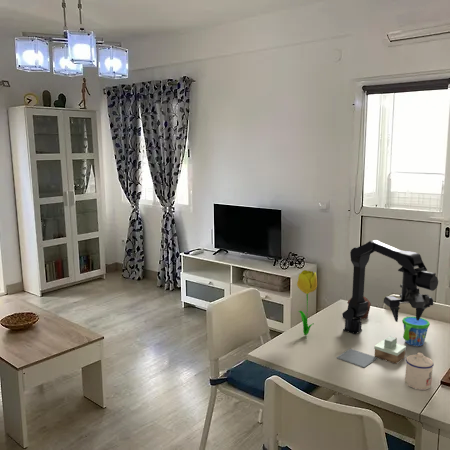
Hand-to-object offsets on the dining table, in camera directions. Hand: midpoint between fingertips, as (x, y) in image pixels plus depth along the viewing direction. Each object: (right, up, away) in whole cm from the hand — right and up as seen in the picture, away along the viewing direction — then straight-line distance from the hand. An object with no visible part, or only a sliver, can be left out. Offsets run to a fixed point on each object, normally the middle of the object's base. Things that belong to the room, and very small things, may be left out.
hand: (406, 320), depth 187 cm
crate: (-8, -14, -2) cm, 16 cm away
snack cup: (+8, -12, +11) cm, 18 cm away
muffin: (-7, -7, +43) cm, 44 cm away
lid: (-8, -11, -3) cm, 13 cm away
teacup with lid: (-4, -18, -21) cm, 28 cm away
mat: (-21, -14, -3) cm, 26 cm away
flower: (-38, -11, +18) cm, 43 cm away
